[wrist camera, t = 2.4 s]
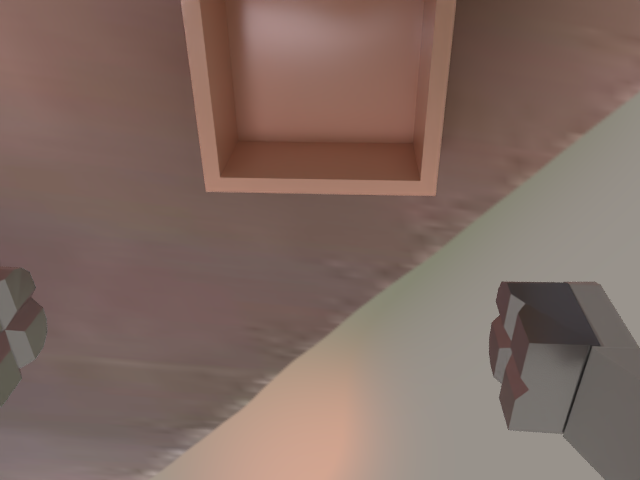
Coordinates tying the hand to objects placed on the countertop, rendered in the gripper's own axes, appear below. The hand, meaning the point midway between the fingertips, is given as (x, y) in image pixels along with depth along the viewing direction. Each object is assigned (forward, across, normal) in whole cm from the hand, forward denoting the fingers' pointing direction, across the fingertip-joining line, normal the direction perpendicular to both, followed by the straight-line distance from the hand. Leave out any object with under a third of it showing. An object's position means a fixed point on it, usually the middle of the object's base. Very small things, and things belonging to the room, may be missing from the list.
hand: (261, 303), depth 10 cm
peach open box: (+19, 0, 0) cm, 19 cm away
